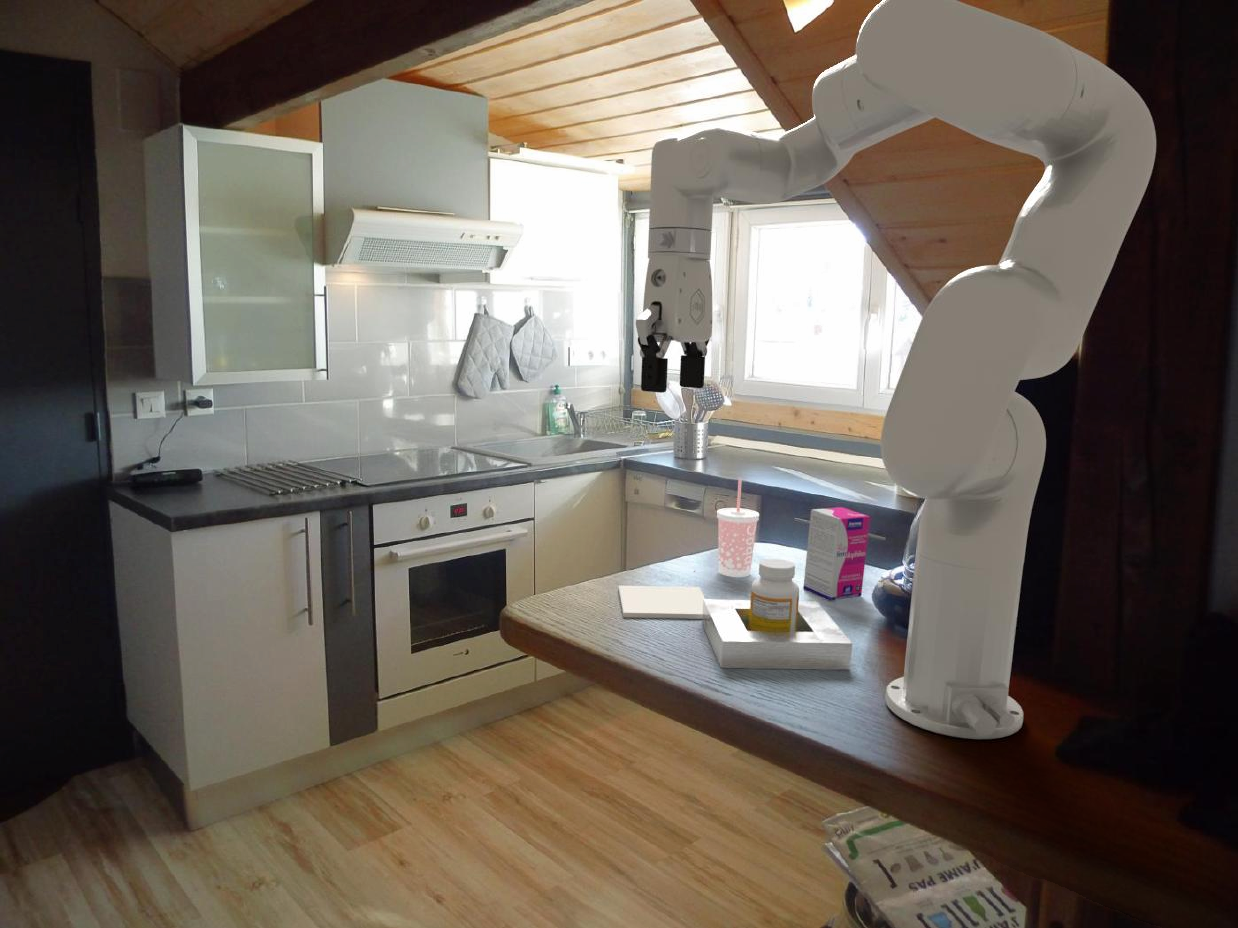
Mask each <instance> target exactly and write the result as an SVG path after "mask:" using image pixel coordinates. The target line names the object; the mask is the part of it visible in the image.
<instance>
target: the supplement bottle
mask: <svg viewBox="0 0 1238 928" xmlns="http://www.w3.org/2000/svg"><path fill="white" fill-rule="evenodd" d="M758 575H759V577H758V578H756V579H755V580H753V582H752V584H751V589H750V600H751V601H750V617H749V631H779V632H796V629H797V616H798V603H799V601H800V587H799V585H798V584H797V582H795V581H794V580H793V579H794V578H795V575H796V564H795V563H794V562H792V561H790V560H785V559H780V558H779V559H777V558H767V559H763V560H760V561H759V566H758Z"/></svg>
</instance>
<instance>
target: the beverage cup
mask: <svg viewBox="0 0 1238 928" xmlns="http://www.w3.org/2000/svg"><path fill="white" fill-rule="evenodd" d="M742 481H743V478H742V477H738V482H737V497H736V507H725V508H719V509H718V510H716V514H717V515H716V518H717V519H718V573H719V574H721V575H723V576H726V577H730V578H731V577H732V578H743V577H747V576H750V575H751V571H752V570H751V569H752V563H753V562H752V561H753V556H754V555H753V554H754V546H755V539H756V530H757V524H758V523H757V522H758V521H759V520H760V519H759V518H760V513H759V512H758V511H756V510H752V509H748V508H742V507H741V498H742V497H741V496H742V484H743V482H742Z"/></svg>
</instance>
